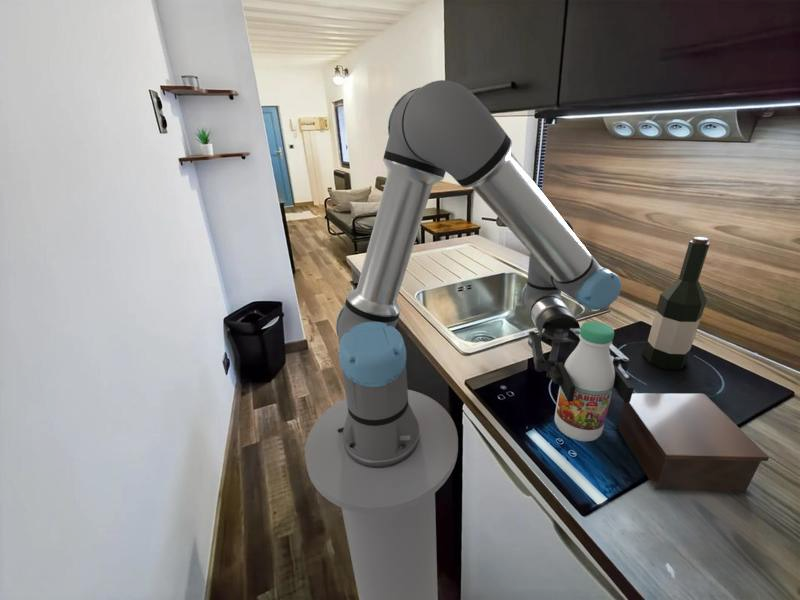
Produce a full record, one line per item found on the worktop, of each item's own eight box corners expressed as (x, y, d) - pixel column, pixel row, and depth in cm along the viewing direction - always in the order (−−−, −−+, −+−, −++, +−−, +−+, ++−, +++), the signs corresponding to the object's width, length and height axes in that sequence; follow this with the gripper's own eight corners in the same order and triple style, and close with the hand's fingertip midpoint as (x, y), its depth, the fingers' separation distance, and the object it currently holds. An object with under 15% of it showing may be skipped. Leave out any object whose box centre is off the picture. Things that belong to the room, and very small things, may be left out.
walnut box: (653, 491, 57) (666, 455, 54) (613, 425, 70) (622, 393, 66) (750, 494, 56) (769, 457, 52) (691, 427, 68) (704, 393, 65)
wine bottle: (635, 353, 90) (666, 235, 78) (662, 347, 92) (697, 231, 79) (665, 372, 83) (704, 246, 70) (694, 365, 85) (738, 241, 72)
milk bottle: (546, 412, 67) (561, 317, 59) (586, 408, 68) (606, 313, 59) (567, 445, 60) (587, 342, 52) (611, 440, 61) (639, 337, 52)
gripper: (602, 337, 76) (665, 415, 56) (503, 337, 78) (528, 412, 58) (609, 305, 73) (679, 375, 53) (505, 306, 75) (533, 374, 54)
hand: (600, 394), depth 55 cm, fingers closed on milk bottle, 8 cm apart
